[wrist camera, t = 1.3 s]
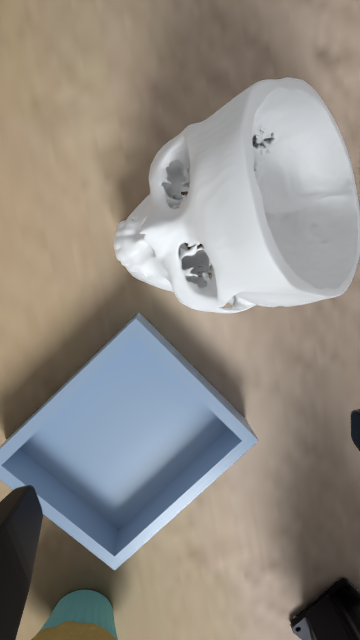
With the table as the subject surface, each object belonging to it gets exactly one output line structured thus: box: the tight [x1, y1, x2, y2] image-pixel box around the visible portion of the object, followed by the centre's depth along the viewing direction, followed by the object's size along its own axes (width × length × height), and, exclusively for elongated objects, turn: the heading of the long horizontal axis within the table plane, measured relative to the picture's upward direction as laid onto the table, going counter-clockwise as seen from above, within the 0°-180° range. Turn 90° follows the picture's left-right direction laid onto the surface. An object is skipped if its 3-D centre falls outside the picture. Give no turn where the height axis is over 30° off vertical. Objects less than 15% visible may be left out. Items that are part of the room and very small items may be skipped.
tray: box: [0, 312, 259, 570], centre depth 21 cm, size 12×14×3 cm
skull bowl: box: [113, 77, 360, 313], centre depth 18 cm, size 10×14×12 cm
